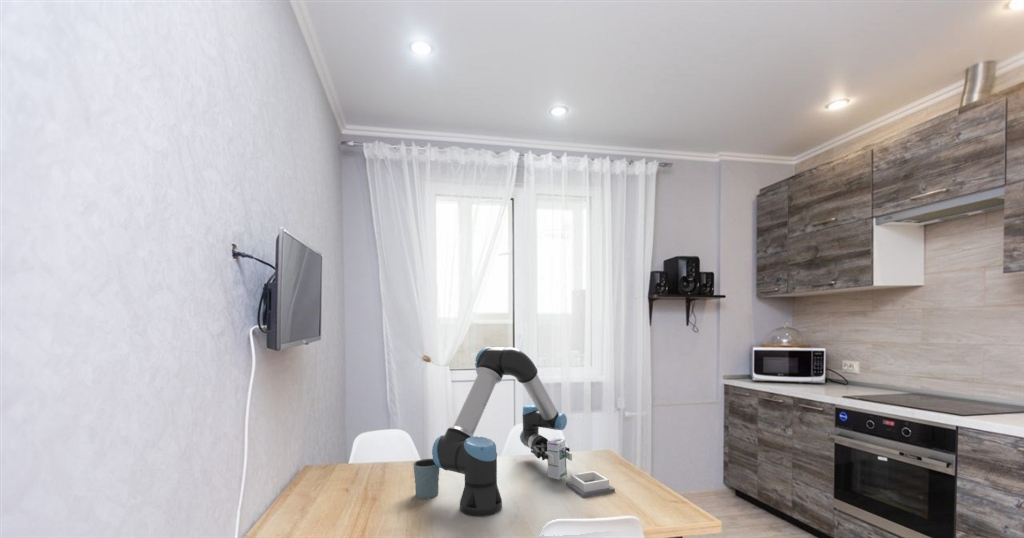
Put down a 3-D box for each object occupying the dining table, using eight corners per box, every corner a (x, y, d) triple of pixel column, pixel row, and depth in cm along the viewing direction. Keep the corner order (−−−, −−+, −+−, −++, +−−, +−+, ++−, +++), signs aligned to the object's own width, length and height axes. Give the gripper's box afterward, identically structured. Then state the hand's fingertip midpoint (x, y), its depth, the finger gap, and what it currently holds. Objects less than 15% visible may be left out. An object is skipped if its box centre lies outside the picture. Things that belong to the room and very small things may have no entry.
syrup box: (559, 479, 182) (559, 442, 184) (547, 476, 186) (546, 440, 187) (566, 475, 186) (566, 439, 188) (554, 473, 190) (554, 437, 192)
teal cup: (434, 500, 168) (434, 467, 169) (408, 498, 170) (409, 465, 171) (443, 490, 177) (443, 458, 179) (419, 488, 179) (419, 457, 181)
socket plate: (583, 497, 168) (582, 485, 169) (565, 484, 181) (565, 474, 182) (614, 491, 173) (614, 480, 173) (595, 479, 186) (595, 469, 186)
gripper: (559, 450, 207) (584, 464, 186) (518, 455, 200) (539, 471, 178) (559, 433, 208) (583, 445, 187) (518, 438, 200) (538, 451, 179)
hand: (562, 458), depth 183 cm, fingers closed on syrup box, 8 cm apart
